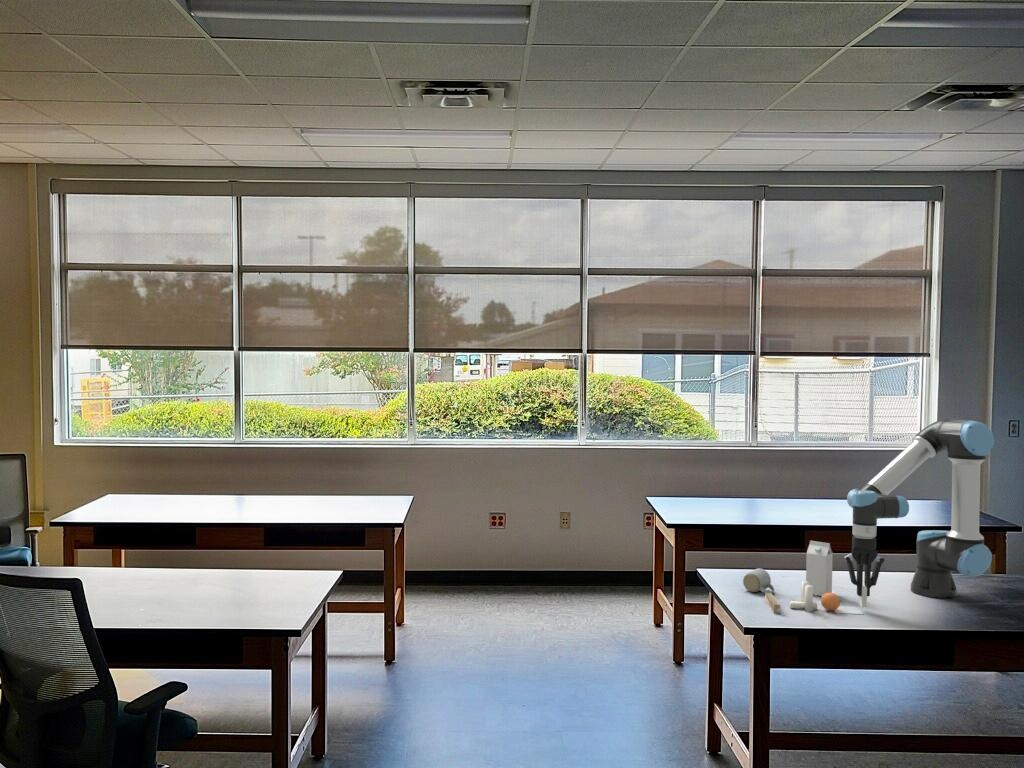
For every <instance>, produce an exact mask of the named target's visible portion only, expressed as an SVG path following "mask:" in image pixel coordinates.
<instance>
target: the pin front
mask: <svg viewBox="0 0 1024 768" xmlns="http://www.w3.org/2000/svg"><path fill="white" fill-rule="evenodd" d="M791 608H795V609H796V610H805V602H801V601H795V600H794V601H791V600H790V601H789V609H791ZM795 609H794V610H795ZM817 609H818V604H817V602H816V601H813V610H817Z"/></svg>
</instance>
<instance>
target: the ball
mask: <svg viewBox="0 0 1024 768" xmlns="http://www.w3.org/2000/svg"><path fill="white" fill-rule="evenodd" d="M820 602H821V606H822V607H823V608H824V609H826V610H827V611H831V612H832V611H833V612H834V610H836V609H838V607H839V606H840V605H841V600H840V597H839V596H838V595H837V594H836V593H834V592H832V593H826V594H824V595H823V596H821V598H820Z"/></svg>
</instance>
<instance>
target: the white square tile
mask: <svg viewBox="0 0 1024 768" xmlns="http://www.w3.org/2000/svg"><path fill="white" fill-rule="evenodd" d="M833 612H834V613H836V614H845V615H864V612H862V610H860V609H859V608H858V607H857V606H847V605H846V606H845V605H841V606H839V607H838V609H836V610H834V611H833Z"/></svg>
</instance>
